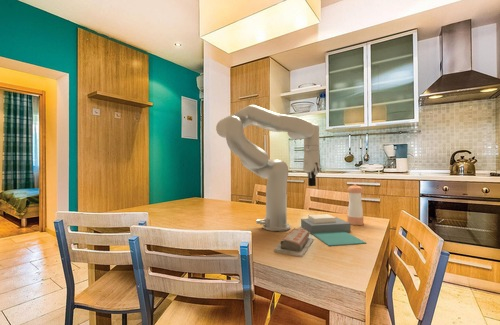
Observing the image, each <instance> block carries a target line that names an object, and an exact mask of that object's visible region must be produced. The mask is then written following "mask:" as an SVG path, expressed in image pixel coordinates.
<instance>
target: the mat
mask: <svg viewBox="0 0 500 325" xmlns="http://www.w3.org/2000/svg"><path fill="white" fill-rule="evenodd" d="M311 235H313V236H314V237H315V238H317V239H318V240H320V241H321V242H322V243H324V244H325V245H326V246H328V247H335V246H336V247H338V246H350V245H351V246H352V245H363V244H367V242H366V241H364V240H363V239H360V238H359V237H357V236H355V235H353V234H351V233H350V232H345V231H336V232H319V233H312V234H311Z"/></svg>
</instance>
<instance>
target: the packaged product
mask: <svg viewBox="0 0 500 325" xmlns="http://www.w3.org/2000/svg"><path fill="white" fill-rule="evenodd" d="M309 236H310V232H309V231H307V230H306V229H304V228H303V229H302V228H293V229H291V231H289V232H288V233H287V234H286V235H285V236H284V237H283V238H282V239H281V240H280V242H279V243H278V244H277V245H276V246H275V247H274V248H273V252H274V253H277V254H283V255H287V256H294V257H300V258H301V257H302V258H303V256H304V255H305V253H306V252H307V250H308V249H309V248H310V247H311V244H312V243H313V241H314V240H315V239H314V238H311V237H309Z"/></svg>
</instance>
